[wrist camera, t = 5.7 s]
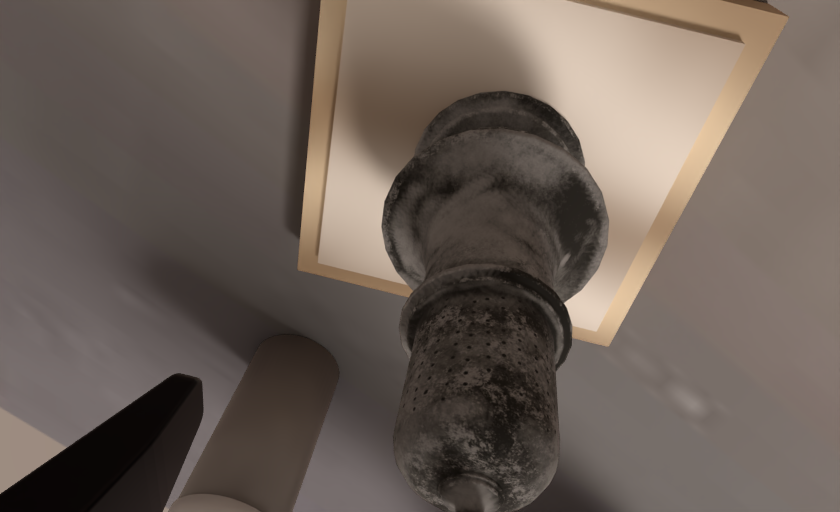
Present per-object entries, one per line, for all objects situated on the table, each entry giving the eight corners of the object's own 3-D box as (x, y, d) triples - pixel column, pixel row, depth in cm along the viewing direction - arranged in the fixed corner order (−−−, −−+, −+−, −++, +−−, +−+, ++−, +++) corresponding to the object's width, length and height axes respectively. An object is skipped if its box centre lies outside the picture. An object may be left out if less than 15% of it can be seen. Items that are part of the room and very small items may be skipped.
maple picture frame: (603, 320, 23) (609, 352, 22) (309, 247, 23) (294, 274, 22) (768, 4, 16) (794, 19, 14) (344, -100, 16) (325, -95, 15)
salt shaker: (371, 194, 19) (214, 553, 9) (470, 38, 16) (385, 342, 6) (517, 280, 20) (512, 679, 11) (638, 151, 17) (792, 558, 7)
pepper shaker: (336, 405, 28) (269, 605, 21) (252, 385, 28) (156, 576, 21) (346, 346, 26) (275, 547, 18) (255, 323, 26) (146, 515, 18)
